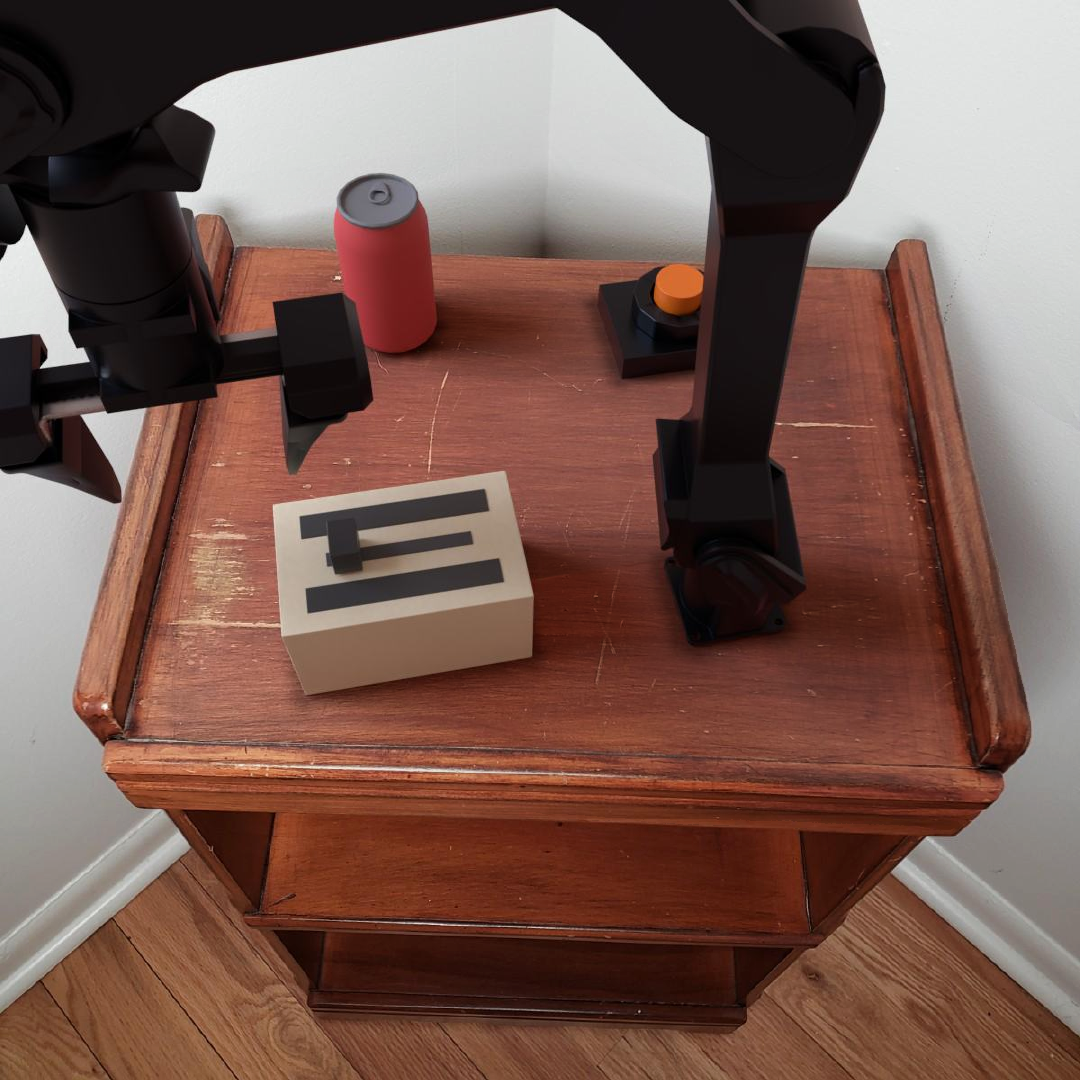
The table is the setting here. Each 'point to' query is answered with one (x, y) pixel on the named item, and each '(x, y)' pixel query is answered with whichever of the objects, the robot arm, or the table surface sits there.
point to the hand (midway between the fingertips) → (206, 481)
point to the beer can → (386, 261)
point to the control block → (646, 329)
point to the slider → (344, 545)
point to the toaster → (404, 583)
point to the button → (678, 289)
